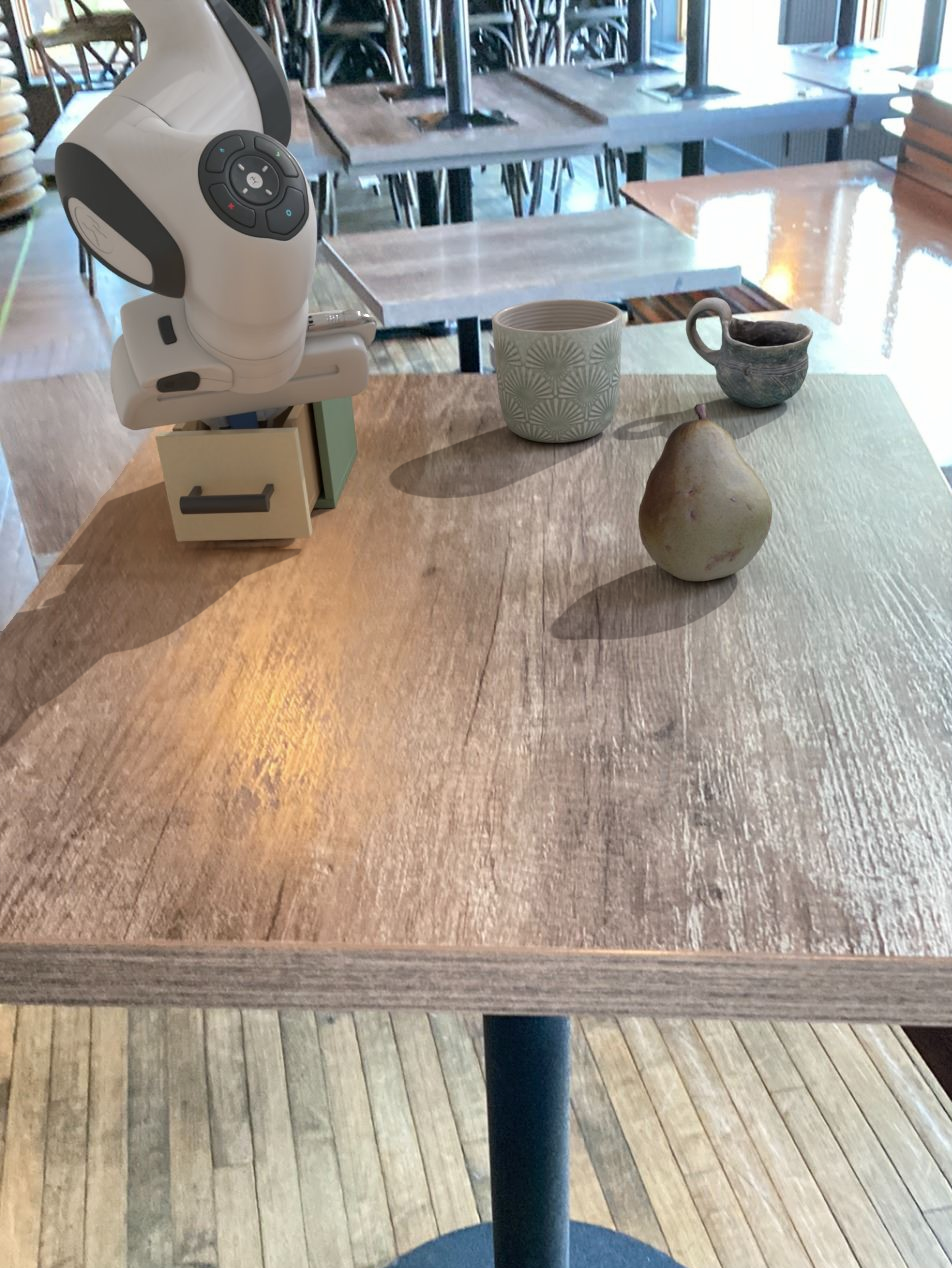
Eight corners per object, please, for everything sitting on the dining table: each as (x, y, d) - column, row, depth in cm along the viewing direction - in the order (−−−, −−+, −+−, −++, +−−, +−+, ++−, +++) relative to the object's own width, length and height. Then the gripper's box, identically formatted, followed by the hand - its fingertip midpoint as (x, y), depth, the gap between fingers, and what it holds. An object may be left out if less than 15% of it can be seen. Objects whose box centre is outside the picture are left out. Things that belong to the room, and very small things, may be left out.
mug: (812, 415, 132) (821, 308, 126) (685, 419, 133) (689, 313, 127) (801, 387, 140) (810, 284, 134) (682, 390, 141) (685, 289, 135)
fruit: (718, 536, 109) (725, 386, 102) (795, 573, 102) (809, 415, 95) (616, 567, 105) (616, 413, 98) (690, 608, 98) (696, 446, 91)
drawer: (301, 558, 107) (285, 449, 102) (163, 561, 108) (140, 454, 103) (335, 480, 121) (322, 381, 116) (212, 484, 122) (194, 386, 117)
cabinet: (335, 508, 118) (319, 385, 112) (197, 512, 119) (173, 391, 113) (358, 452, 130) (344, 339, 123) (231, 456, 131) (212, 344, 124)
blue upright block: (241, 488, 112) (226, 397, 107) (232, 473, 115) (216, 384, 110) (269, 483, 112) (255, 392, 108) (259, 469, 116) (245, 380, 111)
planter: (642, 439, 129) (643, 320, 122) (522, 459, 126) (517, 338, 119) (593, 404, 138) (592, 292, 132) (481, 422, 135) (474, 309, 129)
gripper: (368, 272, 101) (348, 372, 115) (97, 307, 96) (110, 408, 109) (391, 346, 101) (368, 439, 114) (120, 387, 95) (129, 479, 109)
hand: (240, 424), depth 112 cm, fingers closed on blue upright block, 2 cm apart
